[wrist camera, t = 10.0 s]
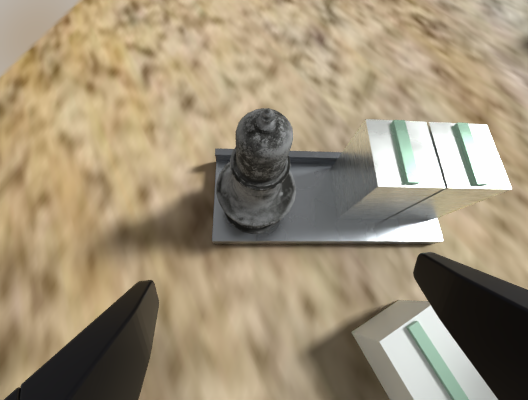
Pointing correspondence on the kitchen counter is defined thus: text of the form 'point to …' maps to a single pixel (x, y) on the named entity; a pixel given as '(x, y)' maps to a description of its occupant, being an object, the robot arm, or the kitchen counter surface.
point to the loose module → (418, 356)
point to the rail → (321, 219)
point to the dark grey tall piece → (258, 173)
